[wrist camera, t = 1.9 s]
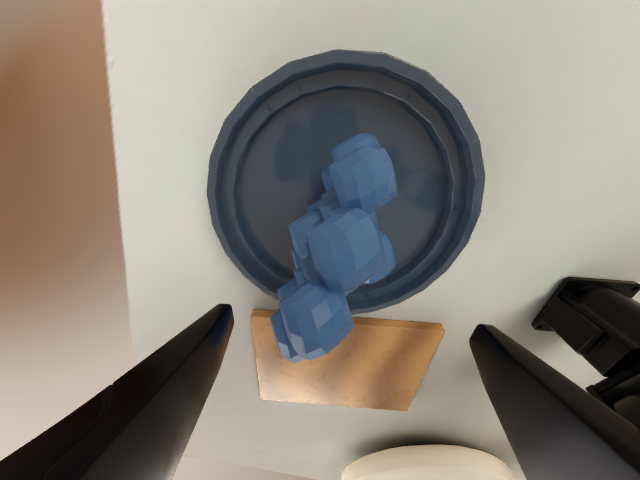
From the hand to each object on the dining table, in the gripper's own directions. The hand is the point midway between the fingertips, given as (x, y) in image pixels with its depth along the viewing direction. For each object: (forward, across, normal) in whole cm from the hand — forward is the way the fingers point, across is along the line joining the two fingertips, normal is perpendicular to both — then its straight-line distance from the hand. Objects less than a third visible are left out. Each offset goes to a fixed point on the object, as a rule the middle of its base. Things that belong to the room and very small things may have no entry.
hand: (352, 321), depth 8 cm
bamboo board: (+12, -2, +20) cm, 23 cm away
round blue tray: (+12, 0, 0) cm, 12 cm away
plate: (+12, -19, +47) cm, 52 cm away
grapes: (+12, 0, 0) cm, 12 cm away
